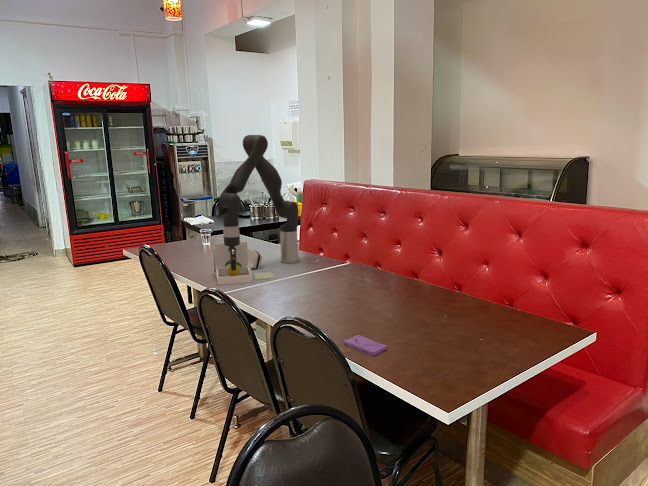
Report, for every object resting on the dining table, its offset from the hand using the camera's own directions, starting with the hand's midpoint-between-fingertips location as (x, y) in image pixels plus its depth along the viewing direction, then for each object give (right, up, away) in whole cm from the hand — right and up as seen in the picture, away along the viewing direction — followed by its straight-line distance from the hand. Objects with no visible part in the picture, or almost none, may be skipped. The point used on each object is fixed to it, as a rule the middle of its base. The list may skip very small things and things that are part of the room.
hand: (233, 268), depth 236 cm
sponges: (+57, -22, -79) cm, 100 cm away
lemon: (0, -5, +1) cm, 5 cm away
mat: (+14, -4, +5) cm, 15 cm away
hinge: (+5, 0, +25) cm, 26 cm away
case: (-1, -5, +2) cm, 5 cm away
